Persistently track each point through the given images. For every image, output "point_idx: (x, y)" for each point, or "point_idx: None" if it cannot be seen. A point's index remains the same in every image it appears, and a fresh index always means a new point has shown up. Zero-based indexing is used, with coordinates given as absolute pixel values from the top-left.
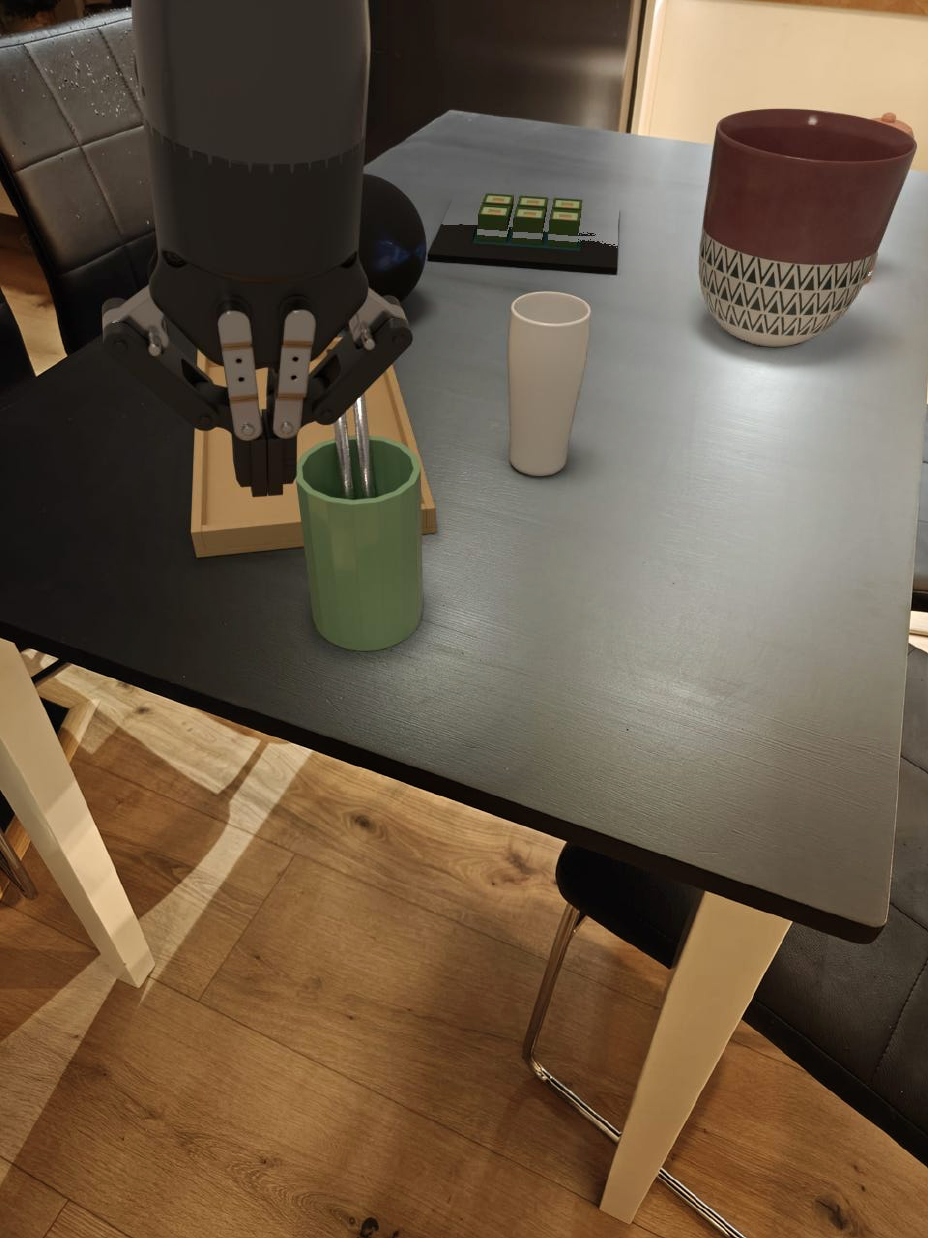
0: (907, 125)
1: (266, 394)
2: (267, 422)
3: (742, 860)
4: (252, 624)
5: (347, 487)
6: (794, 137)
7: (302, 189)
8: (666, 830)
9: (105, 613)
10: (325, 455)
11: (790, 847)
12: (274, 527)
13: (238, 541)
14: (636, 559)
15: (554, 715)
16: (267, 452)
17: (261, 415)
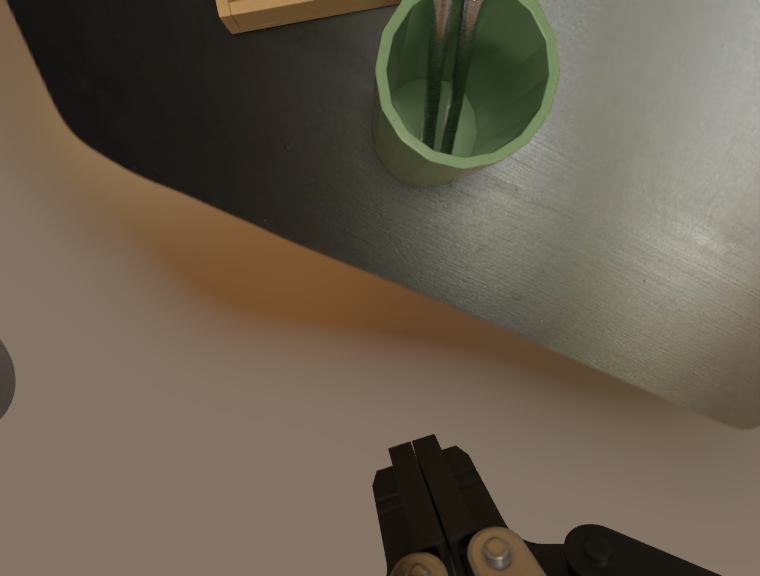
0: None
1: (472, 570)
2: (462, 568)
3: (691, 396)
4: (314, 148)
5: (438, 62)
6: None
7: None
8: (647, 373)
9: (162, 131)
10: (412, 13)
11: (728, 386)
12: (316, 2)
13: (275, 17)
14: (716, 39)
15: (587, 265)
16: (452, 567)
17: (443, 526)
